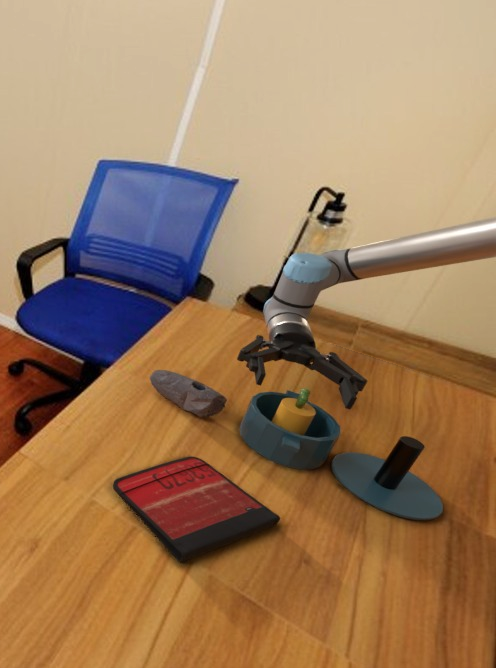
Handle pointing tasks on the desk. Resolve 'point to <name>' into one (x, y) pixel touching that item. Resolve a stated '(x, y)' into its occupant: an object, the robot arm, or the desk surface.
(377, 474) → the pot lid
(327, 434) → the pot
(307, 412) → the yellow cylinder green stem
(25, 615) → the desk surface
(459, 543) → the desk surface
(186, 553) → the binder
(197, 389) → the perforated stone tool
